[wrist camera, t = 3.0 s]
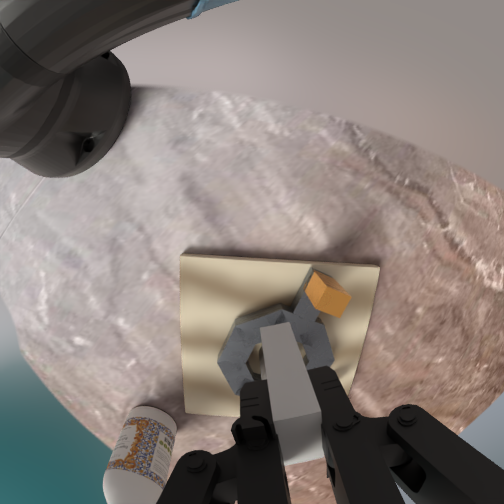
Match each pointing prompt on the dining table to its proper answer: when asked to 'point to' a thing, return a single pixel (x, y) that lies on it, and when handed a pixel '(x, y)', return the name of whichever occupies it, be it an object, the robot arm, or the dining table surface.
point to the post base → (251, 300)
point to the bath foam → (140, 458)
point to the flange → (302, 323)
